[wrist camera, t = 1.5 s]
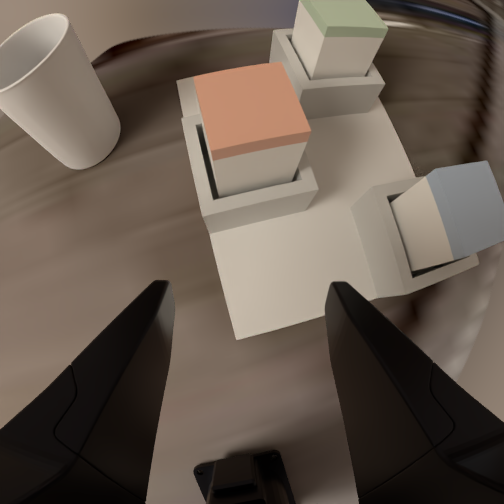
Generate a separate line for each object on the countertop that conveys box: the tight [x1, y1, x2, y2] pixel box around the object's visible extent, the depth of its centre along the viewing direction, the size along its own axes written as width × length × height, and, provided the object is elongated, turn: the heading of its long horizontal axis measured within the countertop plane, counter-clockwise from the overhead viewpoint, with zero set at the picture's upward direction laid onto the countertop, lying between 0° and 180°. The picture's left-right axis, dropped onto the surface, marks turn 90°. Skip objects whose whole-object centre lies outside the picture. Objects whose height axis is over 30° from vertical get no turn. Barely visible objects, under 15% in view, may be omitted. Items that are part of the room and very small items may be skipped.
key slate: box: [389, 161, 504, 272], centre depth 16 cm, size 5×5×6 cm
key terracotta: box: [193, 62, 311, 199], centre depth 17 cm, size 5×5×6 cm
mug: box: [0, 13, 121, 169], centre depth 18 cm, size 10×7×12 cm, turn 53°
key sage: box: [291, 0, 388, 80], centre depth 19 cm, size 5×5×6 cm
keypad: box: [176, 28, 479, 340], centre depth 21 cm, size 22×18×4 cm
